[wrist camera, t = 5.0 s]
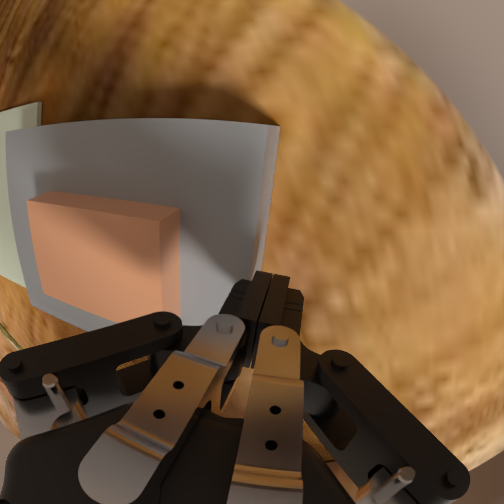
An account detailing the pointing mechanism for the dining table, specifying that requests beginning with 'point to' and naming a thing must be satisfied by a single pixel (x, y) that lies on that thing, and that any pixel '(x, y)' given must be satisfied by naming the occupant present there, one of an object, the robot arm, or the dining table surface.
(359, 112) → the dining table surface
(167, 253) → the block
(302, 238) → the dining table surface
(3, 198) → the mat
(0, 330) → the sword
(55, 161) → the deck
